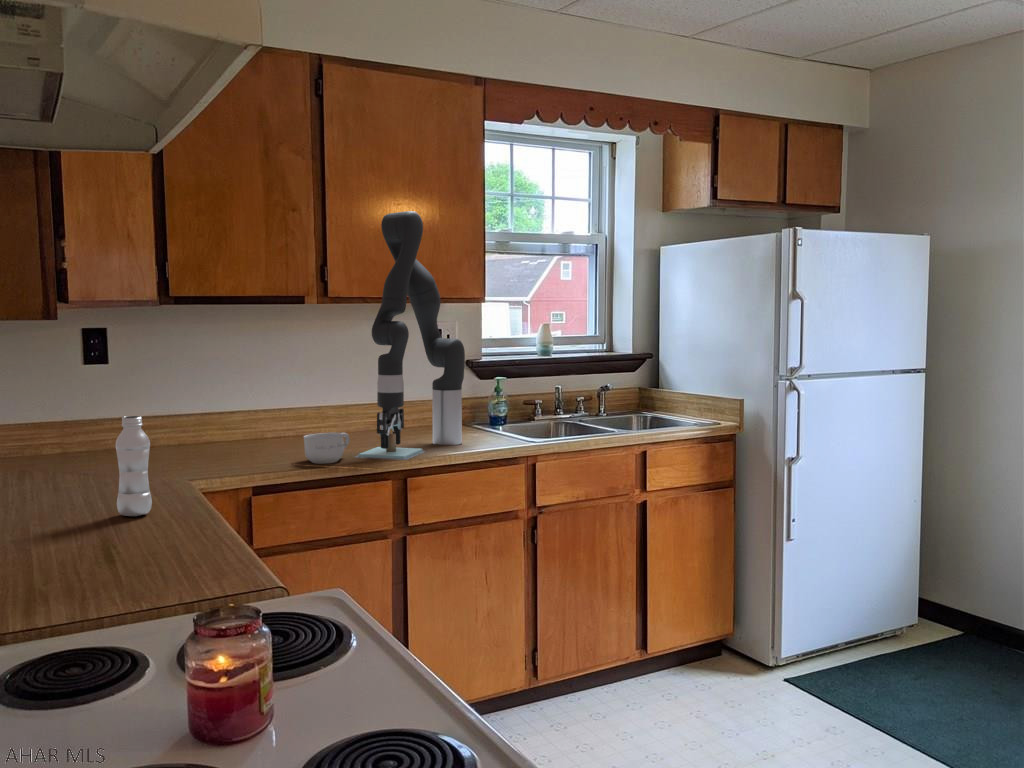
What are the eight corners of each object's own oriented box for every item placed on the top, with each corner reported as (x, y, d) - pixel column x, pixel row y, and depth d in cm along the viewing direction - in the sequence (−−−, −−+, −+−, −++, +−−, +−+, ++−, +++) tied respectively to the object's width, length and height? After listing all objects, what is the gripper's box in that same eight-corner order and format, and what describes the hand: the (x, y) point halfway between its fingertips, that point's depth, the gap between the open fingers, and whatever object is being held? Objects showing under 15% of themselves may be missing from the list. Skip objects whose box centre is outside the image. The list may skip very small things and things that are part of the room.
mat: (376, 450, 255) (376, 448, 255) (426, 452, 251) (426, 451, 251) (353, 458, 239) (353, 457, 239) (406, 461, 235) (406, 459, 235)
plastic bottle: (142, 510, 175) (139, 414, 173) (158, 515, 171) (155, 416, 169) (110, 516, 170) (107, 417, 168) (127, 521, 166) (124, 419, 164)
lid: (378, 449, 254) (378, 430, 253) (422, 451, 250) (422, 431, 249) (358, 456, 240) (358, 436, 240) (404, 459, 236) (404, 438, 236)
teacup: (314, 467, 225) (314, 437, 224) (297, 462, 233) (296, 433, 233) (361, 462, 234) (361, 433, 233) (342, 457, 242) (342, 429, 242)
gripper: (392, 392, 236) (393, 450, 237) (411, 388, 249) (412, 443, 251) (368, 392, 238) (368, 449, 239) (388, 388, 251) (388, 442, 253)
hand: (390, 446), depth 245 cm, fingers open, 8 cm apart
